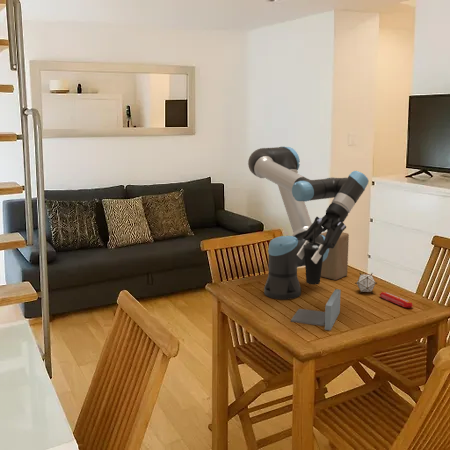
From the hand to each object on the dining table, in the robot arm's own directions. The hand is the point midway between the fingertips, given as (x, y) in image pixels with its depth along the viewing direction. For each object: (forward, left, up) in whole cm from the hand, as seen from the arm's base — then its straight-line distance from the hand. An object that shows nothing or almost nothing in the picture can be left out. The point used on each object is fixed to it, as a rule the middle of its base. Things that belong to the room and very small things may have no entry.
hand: (306, 259), depth 198 cm
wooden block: (-1, +55, -23) cm, 60 cm away
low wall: (+9, +3, -23) cm, 25 cm away
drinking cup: (+2, +3, -10) cm, 10 cm away
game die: (+16, +38, -23) cm, 48 cm away
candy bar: (+29, +30, -24) cm, 48 cm away
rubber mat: (+1, +3, -23) cm, 24 cm away
